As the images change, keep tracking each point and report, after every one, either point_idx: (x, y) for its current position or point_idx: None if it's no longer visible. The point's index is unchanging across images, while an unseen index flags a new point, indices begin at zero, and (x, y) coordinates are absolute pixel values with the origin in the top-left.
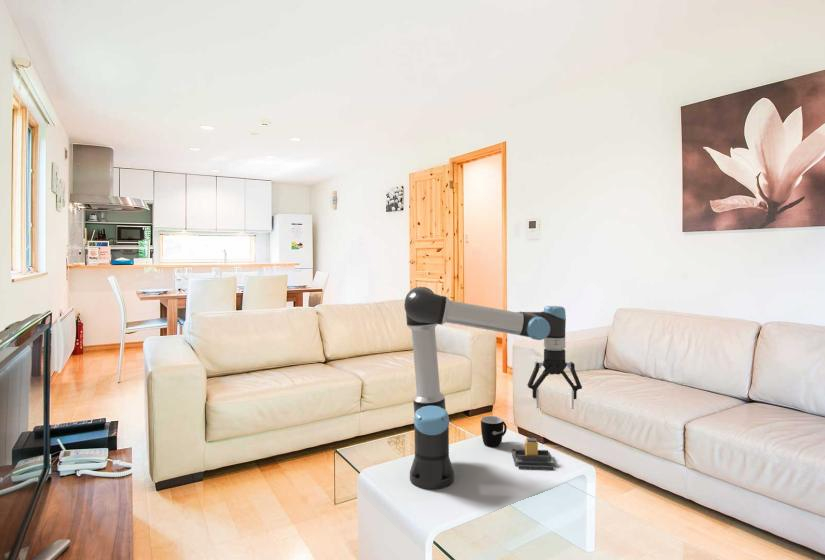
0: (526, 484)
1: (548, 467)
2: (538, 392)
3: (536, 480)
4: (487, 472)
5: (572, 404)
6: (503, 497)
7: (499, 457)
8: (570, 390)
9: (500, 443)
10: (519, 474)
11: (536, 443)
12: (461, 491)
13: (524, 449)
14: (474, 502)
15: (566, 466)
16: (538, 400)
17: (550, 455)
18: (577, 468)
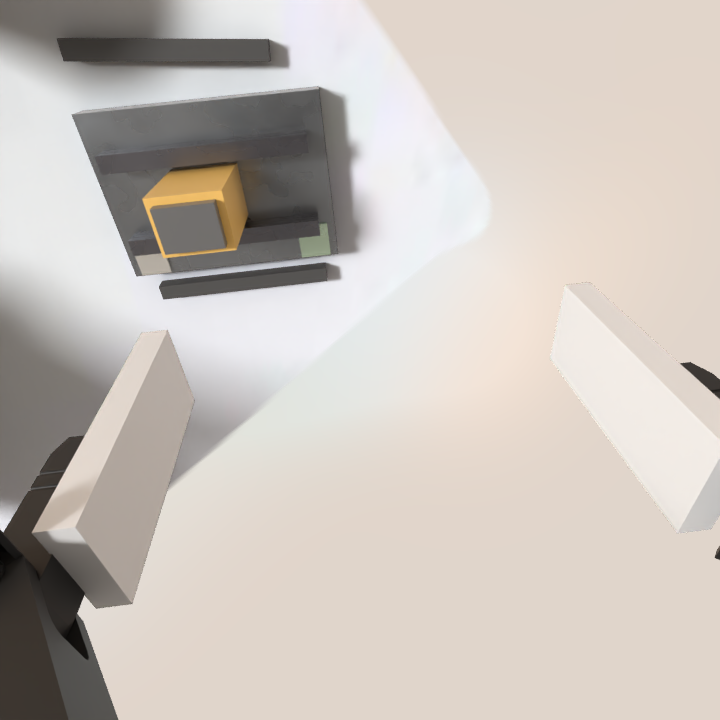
0: (219, 406)
1: (303, 282)
2: (138, 571)
3: (254, 373)
4: (37, 348)
5: (582, 389)
6: None
7: (20, 166)
8: (697, 472)
9: None
10: (179, 340)
11: (228, 249)
12: (13, 481)
13: (146, 40)
14: None
15: (394, 223)
16: (171, 469)
17: (321, 149)
18: (442, 236)
